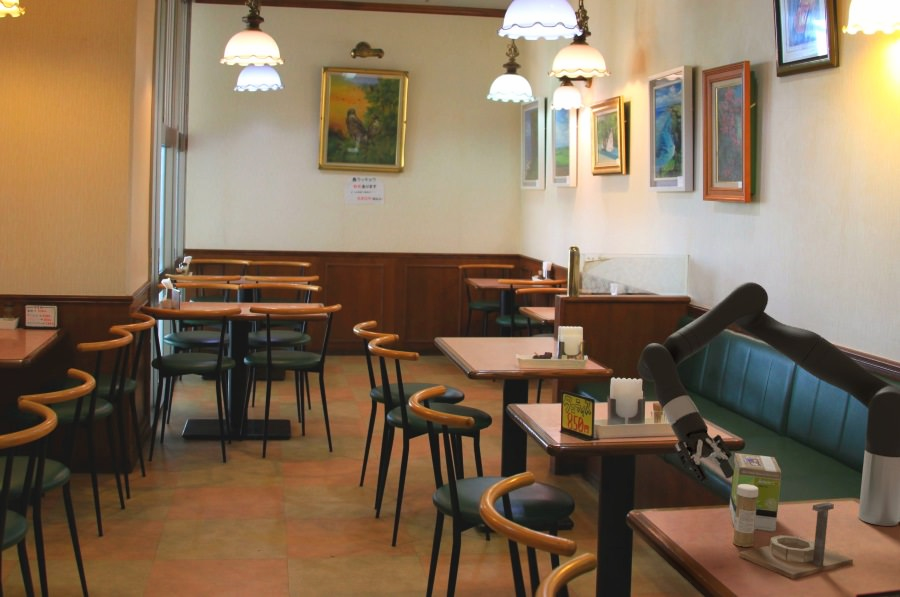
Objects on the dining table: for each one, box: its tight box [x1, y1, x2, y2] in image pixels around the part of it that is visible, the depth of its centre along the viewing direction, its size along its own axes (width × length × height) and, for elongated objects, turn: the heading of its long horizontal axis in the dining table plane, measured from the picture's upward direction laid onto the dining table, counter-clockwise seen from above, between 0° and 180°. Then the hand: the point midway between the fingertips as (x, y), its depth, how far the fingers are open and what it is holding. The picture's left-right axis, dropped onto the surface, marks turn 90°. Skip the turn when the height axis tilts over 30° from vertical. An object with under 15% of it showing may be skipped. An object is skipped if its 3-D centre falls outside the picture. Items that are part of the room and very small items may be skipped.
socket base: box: [739, 501, 854, 580], centre depth 218 cm, size 20×14×14 cm
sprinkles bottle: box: [732, 484, 758, 548], centre depth 226 cm, size 5×5×14 cm
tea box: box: [729, 452, 782, 532], centre depth 244 cm, size 15×10×15 cm
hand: (717, 479), depth 232 cm, fingers open, 8 cm apart
